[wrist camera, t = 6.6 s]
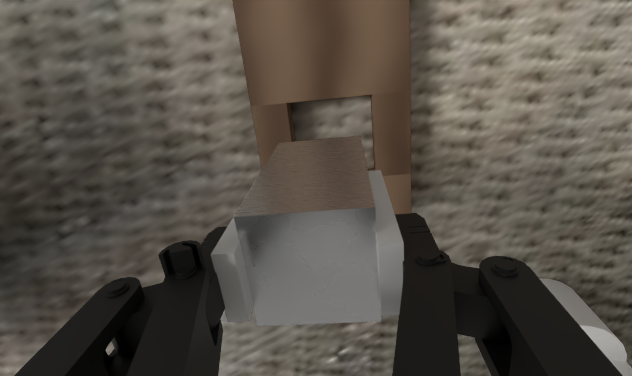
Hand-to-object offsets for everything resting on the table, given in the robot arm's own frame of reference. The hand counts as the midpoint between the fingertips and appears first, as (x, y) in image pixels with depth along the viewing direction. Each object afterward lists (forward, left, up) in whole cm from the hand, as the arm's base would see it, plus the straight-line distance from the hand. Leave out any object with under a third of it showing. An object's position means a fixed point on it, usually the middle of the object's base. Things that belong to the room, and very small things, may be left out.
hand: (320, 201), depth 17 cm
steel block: (0, 0, -3) cm, 3 cm away
